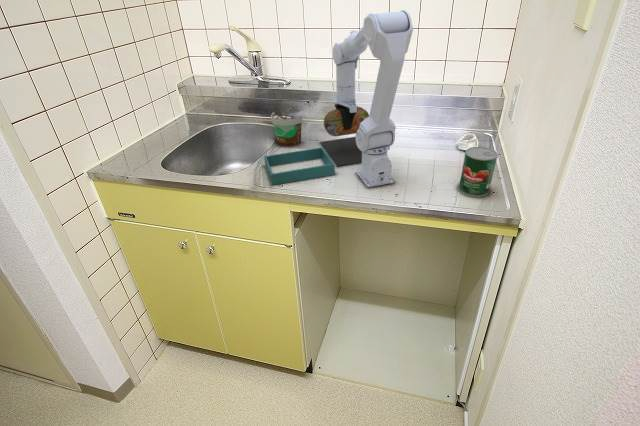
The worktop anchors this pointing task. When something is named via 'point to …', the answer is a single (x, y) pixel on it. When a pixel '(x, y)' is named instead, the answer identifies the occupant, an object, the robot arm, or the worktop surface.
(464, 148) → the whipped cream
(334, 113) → the tin
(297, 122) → the food container
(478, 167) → the canned tomato
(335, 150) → the mat
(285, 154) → the crate
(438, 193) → the worktop surface
